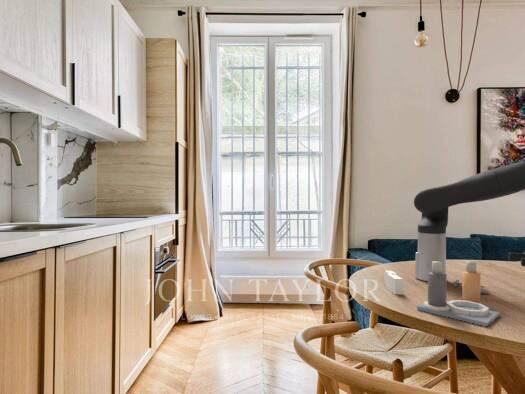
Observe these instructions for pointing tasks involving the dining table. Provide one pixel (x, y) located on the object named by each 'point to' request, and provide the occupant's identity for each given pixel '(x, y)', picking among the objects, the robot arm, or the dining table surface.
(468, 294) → the orange lotion bottle
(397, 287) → the white stepped block
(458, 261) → the dining table surface
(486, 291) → the clamp
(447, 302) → the bottle holder tray
